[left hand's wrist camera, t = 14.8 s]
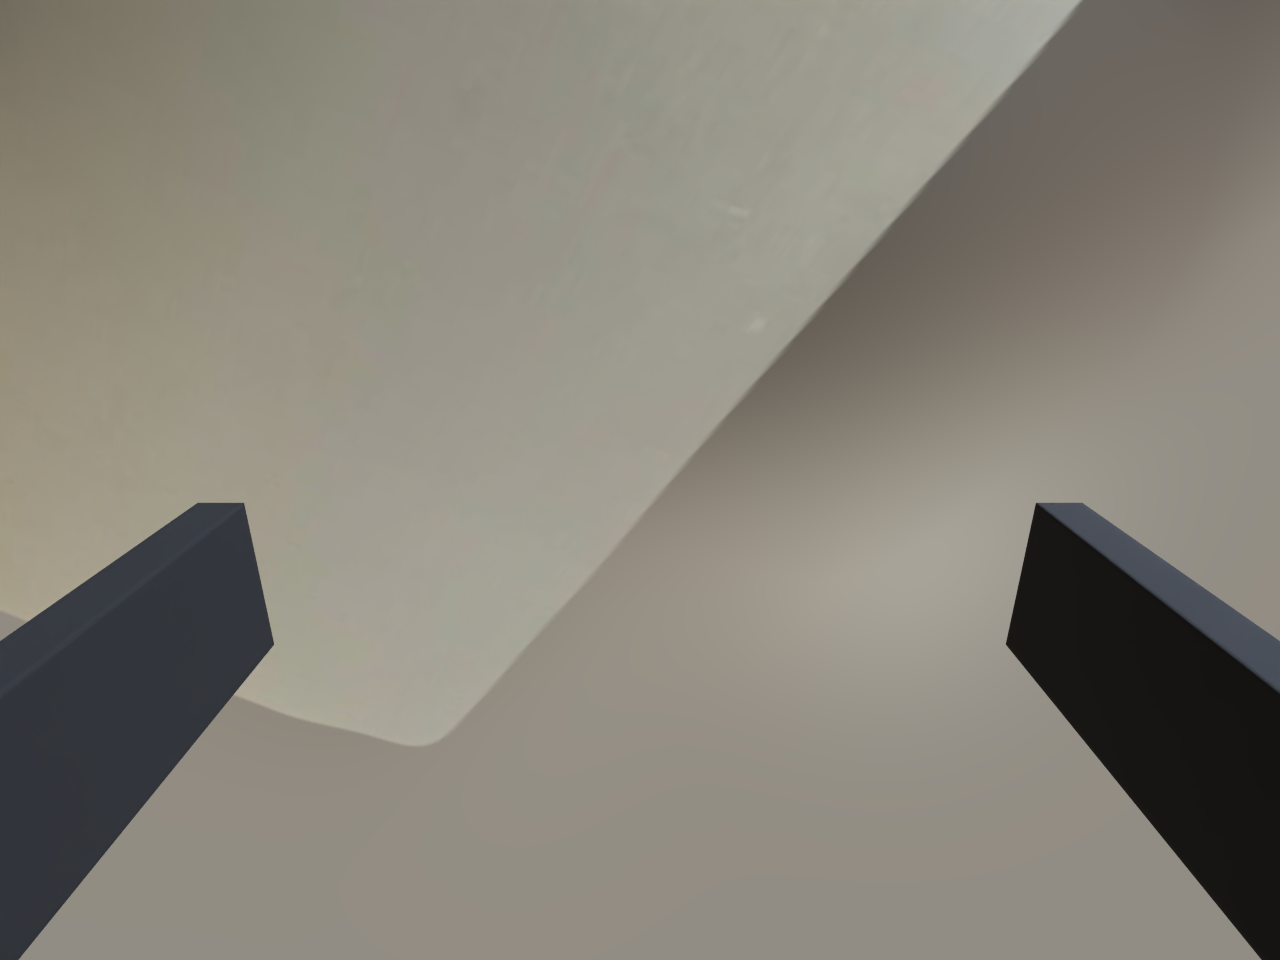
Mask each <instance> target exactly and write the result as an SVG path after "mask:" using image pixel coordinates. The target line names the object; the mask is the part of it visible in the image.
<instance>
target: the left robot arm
mask: <svg viewBox="0 0 1280 960" xmlns="http://www.w3.org/2000/svg"><path fill="white" fill-rule="evenodd" d="M273 645H274V642H273V637H272V632H271V628H270V623H269V618H268V614H267V609H266V604H265V599H264V595H263V590H262V585H261V581H260V576H259V571H258V567H257V562H256V557H255V552H254V548H253V543H252V538H251V534H250V529H249V524H248V520H247V515H246V510H245V506H244V503H197V504H196V505H194V506H193V507H191V508H190V509H188V510H187V511H186V512H184V513H183V514H181V515H180V516H178V517H177V518H176V519H174V520H173V521H171V522H170V523H168V524H167V525H166V526H164V527H163V528H161V529H160V530H158V531H157V532H156V533H154V534H153V535H151V536H150V537H148V538H147V539H146V540H144V541H143V542H141V543H140V544H138V545H137V546H136V547H134V548H133V549H131V550H130V551H128V552H127V553H126V554H124V555H123V556H121V557H120V558H118V559H117V560H116V561H114V562H113V563H111V564H110V565H108V566H107V567H106V568H104V569H103V570H101V571H100V572H98V573H97V574H96V575H94V576H93V577H91V578H90V579H88V580H87V581H86V582H84V583H83V584H81V585H80V586H78V587H77V588H76V589H74V590H73V591H71V592H70V593H68V594H67V595H66V596H64V597H63V598H61V599H60V600H58V601H57V602H56V603H54V604H53V605H51V606H50V607H48V608H47V609H46V610H44V611H43V612H41V613H40V614H38V615H37V616H36V617H34V618H33V619H31V620H30V621H28V622H27V623H26V624H24V625H23V626H21V627H20V628H18V629H17V630H16V631H14V632H13V633H11V634H10V635H8V636H7V637H6V638H4V639H3V640H1V641H0V960H18V959H19V958H20V957H21V956H22V955H23V953H24V952H25V951H26V950H27V948H28V947H29V946H30V945H31V943H32V942H33V941H34V940H35V938H36V937H37V936H38V935H39V934H40V932H41V931H42V930H43V929H44V927H45V926H46V925H47V924H48V922H49V921H50V920H51V919H52V918H53V916H54V915H55V914H56V913H57V911H58V910H59V909H60V908H61V906H62V905H63V904H64V903H65V902H66V900H67V899H68V898H69V897H70V895H71V894H72V893H73V892H74V890H75V889H76V888H77V887H78V886H79V884H80V883H81V882H82V881H83V879H84V878H85V877H86V876H87V874H88V873H89V872H90V871H91V869H92V868H93V867H94V866H95V865H96V863H97V862H98V861H99V860H100V858H101V857H102V856H103V855H104V853H105V852H106V851H107V850H108V849H109V847H110V846H111V845H112V844H113V842H114V841H115V840H116V839H117V837H118V836H119V835H120V834H121V833H122V831H123V830H124V829H125V828H126V826H127V825H128V824H129V823H130V821H131V820H132V819H133V818H134V816H135V815H136V814H137V813H138V812H139V810H140V809H141V808H142V807H143V805H144V804H145V803H146V802H147V800H148V799H149V798H150V797H151V796H152V794H153V793H154V792H155V791H156V789H157V788H158V787H159V786H160V784H161V783H162V782H163V781H164V780H165V778H166V777H167V776H168V774H169V773H170V772H171V771H172V770H173V768H174V767H175V766H176V765H177V763H178V762H179V761H180V760H181V759H182V757H183V756H184V755H185V754H186V752H187V751H188V750H189V749H190V747H191V746H192V745H193V744H194V742H195V741H196V740H197V739H198V738H199V736H200V735H201V734H202V733H203V731H204V730H205V729H206V728H207V727H208V725H209V724H210V723H211V722H212V720H213V719H214V718H215V717H216V715H217V714H218V713H219V712H220V710H221V709H222V708H223V707H224V706H225V704H226V703H227V702H228V701H229V699H230V698H231V697H232V696H233V694H234V693H235V692H236V691H237V690H238V688H239V687H240V686H241V685H242V683H243V682H244V681H245V680H246V678H247V677H248V676H249V675H250V673H251V672H252V671H253V670H254V669H255V667H256V666H257V665H258V664H259V662H260V661H261V660H262V659H263V657H264V656H265V655H266V654H267V653H268V651H269V650H270V649H271V648H272V646H273ZM1006 645H1007V646H1008V648H1009V649H1010V650H1011V651H1012V653H1013V654H1014V655H1015V656H1016V657H1017V659H1018V660H1019V661H1020V662H1021V664H1022V665H1023V666H1024V667H1025V669H1026V670H1027V671H1028V672H1029V673H1030V675H1031V676H1032V677H1033V678H1034V680H1035V681H1036V682H1037V683H1038V685H1039V686H1040V687H1041V688H1042V689H1043V691H1044V692H1045V693H1046V694H1047V696H1048V697H1049V698H1050V699H1051V701H1052V702H1053V703H1054V704H1055V705H1056V707H1057V708H1058V709H1059V710H1060V712H1061V713H1062V714H1063V715H1064V717H1065V718H1066V719H1067V720H1068V722H1069V723H1070V724H1071V725H1072V726H1073V728H1074V729H1075V730H1076V731H1077V733H1078V734H1079V735H1080V736H1081V738H1082V739H1083V740H1084V741H1085V743H1086V744H1087V745H1088V746H1089V747H1090V749H1091V750H1092V751H1093V752H1094V754H1095V755H1096V756H1097V757H1098V759H1099V760H1100V761H1101V762H1102V763H1103V765H1104V766H1105V767H1106V768H1107V770H1108V771H1109V772H1110V773H1111V775H1112V776H1113V777H1114V778H1115V780H1116V781H1117V782H1118V783H1119V784H1120V786H1121V787H1122V788H1123V789H1124V791H1125V792H1126V793H1127V794H1128V796H1129V797H1130V798H1131V799H1132V800H1133V802H1134V803H1135V804H1136V805H1137V807H1138V808H1139V809H1140V810H1141V812H1142V813H1143V814H1144V815H1145V816H1146V818H1147V819H1148V820H1149V821H1150V823H1151V824H1152V825H1153V826H1154V828H1155V829H1156V830H1157V831H1158V833H1159V834H1160V835H1161V836H1162V837H1163V839H1164V840H1165V841H1166V842H1167V844H1168V845H1169V846H1170V847H1171V849H1172V850H1173V851H1174V852H1175V853H1176V855H1177V856H1178V857H1179V858H1180V860H1181V861H1182V862H1183V863H1184V865H1185V866H1186V867H1187V868H1188V869H1189V871H1190V872H1191V873H1192V874H1193V876H1194V877H1195V878H1196V879H1197V881H1198V882H1199V883H1200V884H1201V886H1202V887H1203V888H1204V889H1205V890H1206V892H1207V893H1208V894H1209V895H1210V897H1211V898H1212V899H1213V900H1214V901H1215V903H1216V904H1217V905H1218V906H1219V908H1220V909H1221V910H1222V911H1223V913H1224V914H1225V915H1226V916H1227V918H1228V919H1229V920H1230V921H1231V923H1232V924H1233V925H1234V926H1235V927H1236V929H1237V930H1238V931H1239V932H1240V933H1241V935H1242V936H1243V937H1244V939H1245V940H1246V941H1247V942H1248V943H1249V945H1250V946H1251V947H1252V948H1253V950H1254V951H1255V952H1256V953H1257V955H1258V956H1259V957H1260V958H1261V959H1262V960H1280V641H1279V640H1277V639H1276V638H1274V637H1273V636H1272V635H1270V634H1269V633H1267V632H1266V631H1264V630H1263V629H1262V628H1260V627H1259V626H1257V625H1256V624H1254V623H1253V622H1252V621H1250V620H1249V619H1247V618H1246V617H1244V616H1243V615H1242V614H1240V613H1239V612H1237V611H1236V610H1234V609H1233V608H1232V607H1230V606H1229V605H1227V604H1226V603H1224V602H1223V601H1222V600H1220V599H1219V598H1217V597H1216V596H1214V595H1213V594H1212V593H1210V592H1209V591H1207V590H1206V589H1204V588H1203V587H1202V586H1200V585H1199V584H1197V583H1196V582H1194V581H1193V580H1192V579H1190V578H1189V577H1187V576H1186V575H1184V574H1183V573H1182V572H1180V571H1179V570H1177V569H1176V568H1174V567H1173V566H1172V565H1170V564H1169V563H1167V562H1166V561H1164V560H1163V559H1162V558H1160V557H1159V556H1157V555H1156V554H1154V553H1153V552H1152V551H1150V550H1149V549H1147V548H1146V547H1144V546H1143V545H1142V544H1140V543H1139V542H1137V541H1136V540H1134V539H1133V538H1132V537H1130V536H1129V535H1127V534H1126V533H1124V532H1123V531H1122V530H1120V529H1119V528H1117V527H1116V526H1114V525H1113V524H1112V523H1110V522H1109V521H1107V520H1106V519H1104V518H1103V517H1102V516H1100V515H1099V514H1097V513H1096V512H1094V511H1093V510H1092V509H1090V508H1089V507H1087V506H1086V505H1084V504H1083V503H1036V506H1035V510H1034V515H1033V520H1032V524H1031V529H1030V534H1029V538H1028V543H1027V548H1026V553H1025V557H1024V562H1023V567H1022V571H1021V576H1020V581H1019V585H1018V590H1017V595H1016V599H1015V604H1014V609H1013V614H1012V618H1011V623H1010V628H1009V632H1008V637H1007V642H1006Z"/></svg>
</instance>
